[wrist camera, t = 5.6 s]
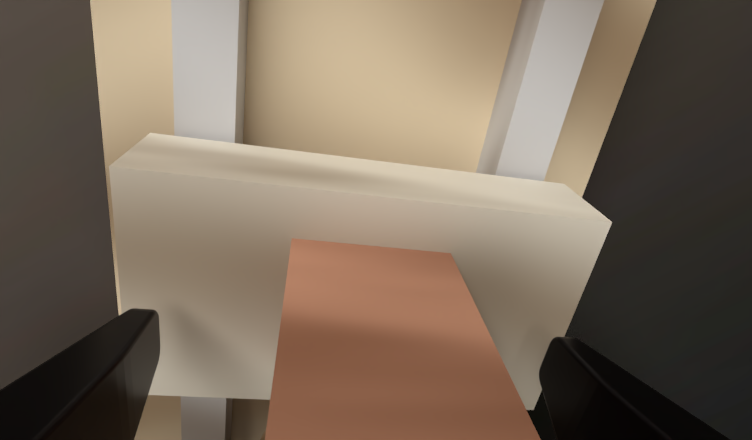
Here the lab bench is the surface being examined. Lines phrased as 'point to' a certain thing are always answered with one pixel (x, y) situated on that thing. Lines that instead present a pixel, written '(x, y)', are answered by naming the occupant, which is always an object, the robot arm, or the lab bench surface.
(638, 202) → the lab bench surface
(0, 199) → the lab bench surface
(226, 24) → the press bed
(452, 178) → the slider
